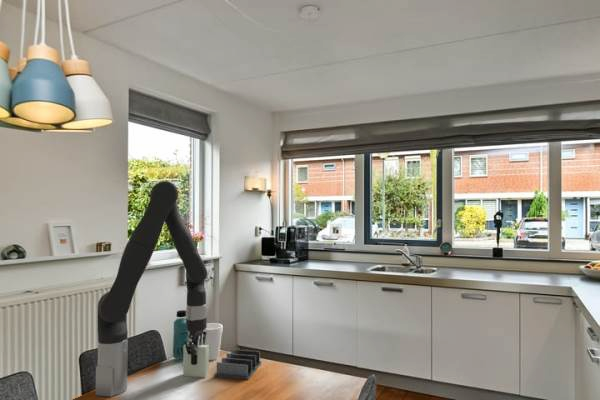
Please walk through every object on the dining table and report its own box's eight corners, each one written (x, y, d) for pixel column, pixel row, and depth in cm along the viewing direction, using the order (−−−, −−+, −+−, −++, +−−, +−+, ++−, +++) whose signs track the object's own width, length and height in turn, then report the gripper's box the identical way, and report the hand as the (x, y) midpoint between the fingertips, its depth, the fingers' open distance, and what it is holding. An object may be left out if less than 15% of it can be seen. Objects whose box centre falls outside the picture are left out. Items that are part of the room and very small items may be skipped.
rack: (248, 379, 149) (248, 366, 149) (214, 376, 152) (214, 363, 152) (261, 363, 165) (261, 351, 165) (230, 360, 167) (230, 348, 168)
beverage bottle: (169, 360, 167) (169, 311, 168) (181, 355, 173) (181, 308, 174) (181, 363, 164) (181, 313, 165) (192, 358, 170) (193, 310, 171)
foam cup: (227, 356, 173) (227, 325, 173) (211, 363, 165) (211, 330, 165) (210, 352, 178) (211, 321, 178) (194, 358, 170) (195, 327, 170)
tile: (205, 377, 151) (205, 347, 151) (183, 375, 153) (183, 345, 153) (208, 374, 154) (208, 345, 154) (186, 372, 156) (186, 343, 156)
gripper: (195, 311, 161) (195, 355, 161) (177, 320, 148) (177, 369, 147) (213, 312, 160) (213, 357, 159) (197, 322, 146) (196, 371, 146)
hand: (196, 362), depth 153 cm, fingers closed on tile, 2 cm apart
